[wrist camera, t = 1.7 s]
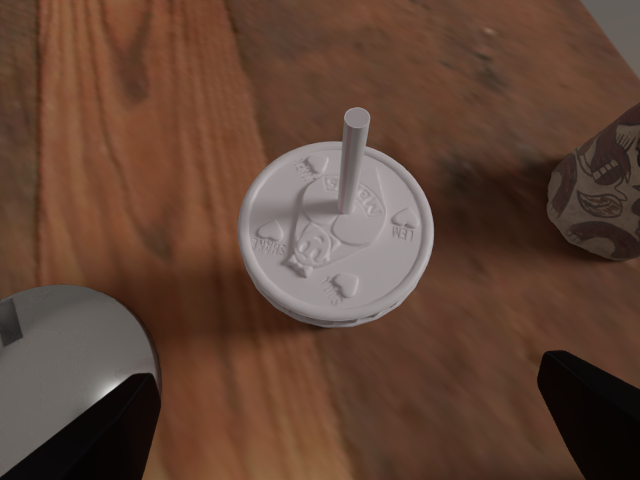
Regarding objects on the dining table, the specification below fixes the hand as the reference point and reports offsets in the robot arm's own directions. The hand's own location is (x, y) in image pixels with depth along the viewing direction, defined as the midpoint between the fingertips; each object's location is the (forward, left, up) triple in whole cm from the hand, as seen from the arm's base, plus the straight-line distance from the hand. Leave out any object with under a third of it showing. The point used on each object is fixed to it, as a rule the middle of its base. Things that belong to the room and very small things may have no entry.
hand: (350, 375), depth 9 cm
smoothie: (+4, +2, -11) cm, 12 cm away
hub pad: (-8, +12, -11) cm, 19 cm away
